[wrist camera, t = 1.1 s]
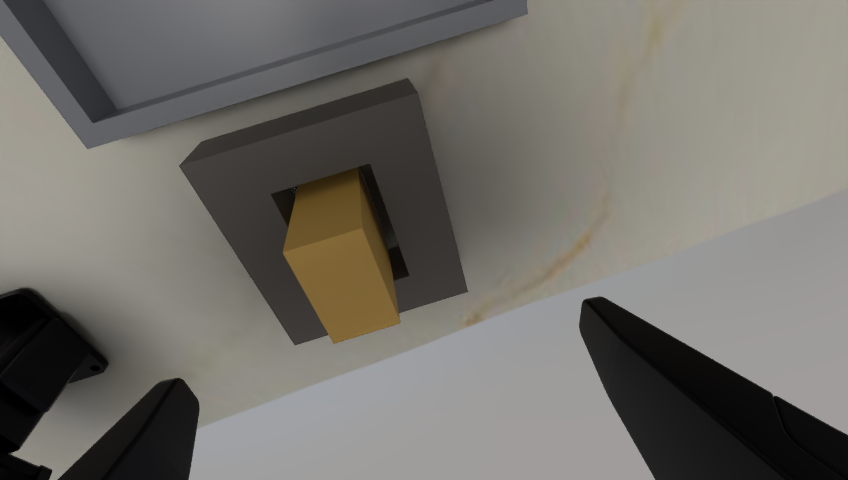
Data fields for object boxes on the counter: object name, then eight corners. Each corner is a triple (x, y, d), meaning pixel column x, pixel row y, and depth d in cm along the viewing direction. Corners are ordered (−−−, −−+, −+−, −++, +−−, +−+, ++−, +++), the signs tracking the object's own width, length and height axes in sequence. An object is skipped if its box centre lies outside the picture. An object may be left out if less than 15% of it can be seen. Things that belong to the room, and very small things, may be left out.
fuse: (336, 253, 23) (333, 343, 17) (300, 176, 20) (282, 252, 14) (386, 238, 23) (400, 323, 17) (357, 158, 20) (362, 228, 14)
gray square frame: (299, 308, 25) (294, 345, 22) (201, 141, 19) (179, 165, 16) (455, 260, 25) (467, 291, 22) (407, 78, 19) (417, 92, 16)
